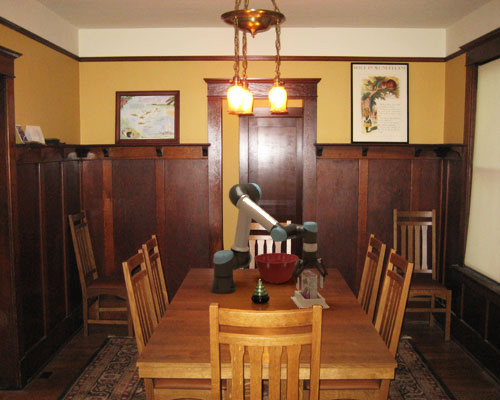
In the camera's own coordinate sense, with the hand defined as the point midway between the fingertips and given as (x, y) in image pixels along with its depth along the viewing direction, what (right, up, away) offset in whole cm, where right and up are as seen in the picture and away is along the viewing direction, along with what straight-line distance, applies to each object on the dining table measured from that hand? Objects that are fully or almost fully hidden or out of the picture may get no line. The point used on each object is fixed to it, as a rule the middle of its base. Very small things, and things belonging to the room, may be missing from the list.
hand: (309, 288), depth 256 cm
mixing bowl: (-16, -4, +45) cm, 47 cm away
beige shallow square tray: (0, -8, +1) cm, 8 cm away
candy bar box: (0, -8, +1) cm, 8 cm away
